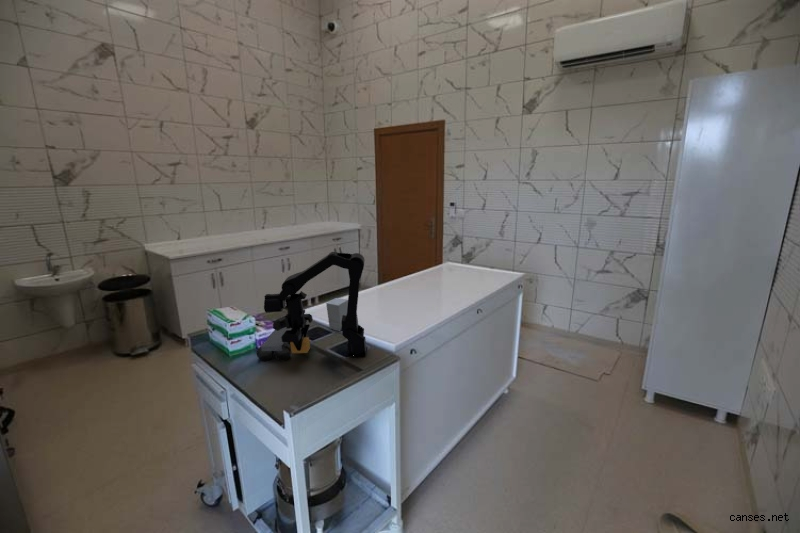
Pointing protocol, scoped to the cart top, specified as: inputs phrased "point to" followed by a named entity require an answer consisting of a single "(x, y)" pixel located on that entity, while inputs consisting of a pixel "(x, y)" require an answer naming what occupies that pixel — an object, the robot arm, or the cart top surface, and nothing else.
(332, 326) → the supplement box
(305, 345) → the block
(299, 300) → the robot arm
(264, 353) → the trolley
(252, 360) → the cart top surface
